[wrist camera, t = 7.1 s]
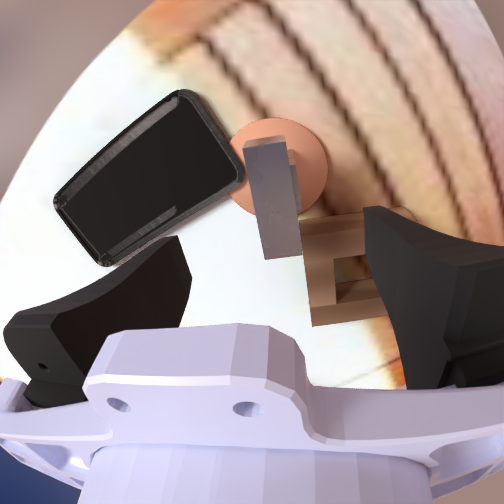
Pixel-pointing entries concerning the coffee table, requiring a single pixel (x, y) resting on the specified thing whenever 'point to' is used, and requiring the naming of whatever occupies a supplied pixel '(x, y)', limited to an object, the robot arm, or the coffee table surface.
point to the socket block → (322, 269)
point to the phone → (149, 178)
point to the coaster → (304, 151)
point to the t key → (274, 195)
